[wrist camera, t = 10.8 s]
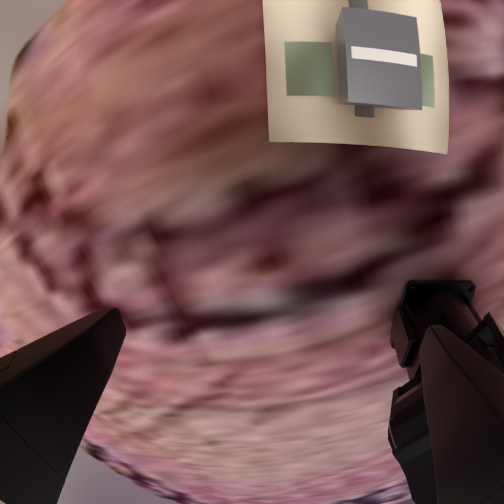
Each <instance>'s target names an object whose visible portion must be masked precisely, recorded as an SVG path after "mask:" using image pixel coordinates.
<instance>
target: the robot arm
mask: <svg viewBox="0 0 504 504" xmlns="http://www.w3.org/2000/svg"><path fill="white" fill-rule="evenodd" d="M412 286H414V287H413V288H412V289H410V287H412ZM469 287H471V288H470V289H469ZM475 288H476V286H475V284H474V283H473V282H472V281H409V282H408V283H407V284H406V285H405V289H404V293H403V297H402V301H401V305H400V306H399V307H398V308H397V310H396V314H395V318H394V322H393V326H392V329H391V335H392V338H391V341H390V343H391V347H392V348H394V349H396V353H397V357H398V361H399V364H400V366H401V367H402V368H406V369H407V372H408V376H409V380H410V381H409V382H407V383H406V384H405V385H403V386H402V387H398V388H397V389H395V390H394V391H393V398H392V406H391V414H390V420H389V427H388V440H389V442H390V446H391V448H392V453H393V455H394V457H395V458H396V460H397V461H398V462H399V464H400V465H401V467H402V470H403V472H404V474H405V476H406V479H407V482H408V485H409V489H410V493H411V496H412V500H413V501H414V502H415V503H416V504H504V331H503V330H502V328H501V327H500V326H499V324H498V323H497V322H496V320H495V319H494V318H493V317H492V315H491V314H490V313H489V312H488V313H487V314H486V315H485V316H484V317H483V318H484V319H483V320H481V318H480V317H479V315H478V314H477V312H476V311H475V309H474V307H473V306H472V304H471V301H472V298H473V295H474V292H475ZM125 336H126V327H125V324H124V321H123V318H122V315H121V312H120V310H119V309H118V308H116V307H111V306H106V307H103V308H101V309H99V310H97V311H95V312H93V313H91V314H89V315H87V316H85V317H83V318H81V319H78V320H76V321H74V322H72V323H70V324H68V325H66V326H64V327H62V328H60V329H58V330H56V331H54V332H52V333H50V334H48V335H46V336H44V337H42V338H40V339H38V340H36V341H34V342H32V343H30V344H27V345H25V346H23V347H21V348H19V349H18V350H15V351H13V352H11V353H9V354H7V355H5V356H3V357H1V358H0V504H57V502H58V499H59V496H60V493H61V490H62V488H63V485H64V483H65V479H66V477H67V474H68V472H69V469H70V467H71V464H72V462H73V459H74V457H75V454H76V452H77V449H78V447H79V445H80V442H81V440H82V438H83V435H84V433H85V431H86V428H87V426H88V424H89V422H90V419H91V417H92V415H93V413H94V410H95V408H96V406H97V404H98V402H99V399H100V397H101V395H102V393H103V391H104V389H105V387H106V385H107V382H108V380H109V378H110V376H111V373H112V371H113V368H114V366H115V363H116V360H117V357H118V354H119V352H120V349H121V346H122V344H123V341H124V339H125Z"/></svg>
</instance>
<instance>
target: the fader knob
mask: <svg viewBox="0 0 504 504" xmlns="http://www.w3.org/2000/svg"><path fill="white" fill-rule="evenodd" d="M335 28H336V41H337V58H338V80H339V104H343V105H358V106H370V107H380V108H389V109H398V110H422V75H421V57H420V45H419V34H418V25H417V17H412V16H407V15H402V14H397V13H391V12H385V11H378V10H370V9H362V8H352V7H342V9H341V12H340V15H339V18H338V20H337V23H336V26H335Z"/></svg>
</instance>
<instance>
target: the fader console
mask: <svg viewBox="0 0 504 504" xmlns="http://www.w3.org/2000/svg"><path fill="white" fill-rule="evenodd" d="M342 7H352V8H362V9H370V10H378V11H385V12H391V13H397V14H402V15H407V16H412V17H417V25H418V34H419V45H420V57H421V75H422V110H398V109H389V108H380V107H370V106H358V105H343V104H339V80H338V58H337V41H336V28H335V26H336V23H337V20H338V18H339V15H340V12H341V9H342ZM263 16H264V34H265V54H266V76H267V99H268V126H269V142H313V143H339V144H357V145H371V146H383V147H394V148H403V149H412V150H420V151H428V152H435V153H442V154H447V151H448V133H449V78H448V60H447V48H446V39H445V30H444V23H443V16H442V9H441V3H440V0H263Z"/></svg>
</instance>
